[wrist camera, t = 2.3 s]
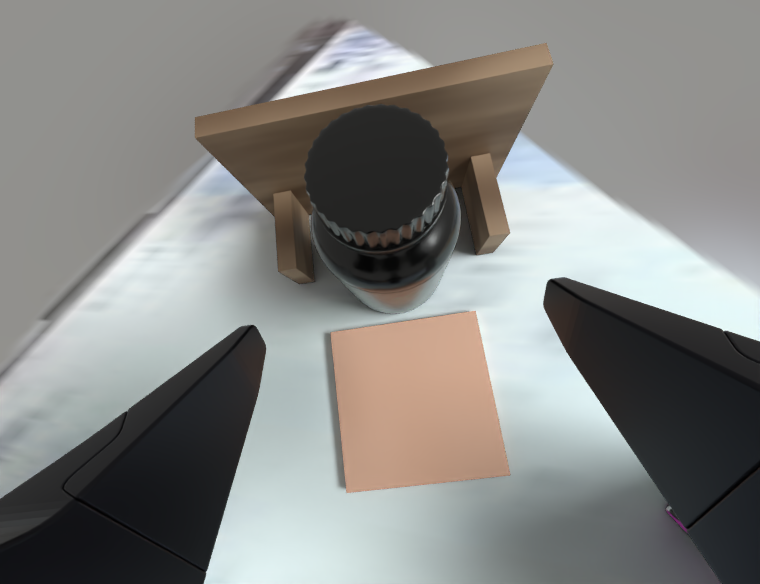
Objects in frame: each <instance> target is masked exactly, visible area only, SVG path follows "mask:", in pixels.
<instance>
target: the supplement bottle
mask: <svg viewBox="0 0 760 584" xmlns="http://www.w3.org/2000/svg"><path fill="white" fill-rule="evenodd" d="M447 162H448V153H447V152H446V150H445V142H444V141H443V140H442V139H441V138H440V137H439V132H438V130H436V129H435V128H433V127H432V126H431V123H430V121H428V120H425V119H423V118H422V117H421V115H420V114H418V113H414V112H411V111H410V110H409V109H408V108H400V107H398V106H396V105H388V106H387V105H384V104H378V105H375V106H373V105H366V106H364V107H362V108H354V109H353V110H351V111H350V112H348V113H343V114H341V115H340V116H339V117H338V118H337V119H335V120H333V121H331V122H330V123H329V125H328V126H327V127H326V128H324V129H322V130H321V132H320V134H319V136H318V137H317V138H316V139H315V140H314V141H313V145H312V148H311V149H310V150H309V151H308V159H307V161H306V162H305V169H306V172H305V174H304V180H305V182H306V192H307V194H308V196H309V197H310V202H311V205H312V206H313V208H312V213H311V232H312V237H313V242H314V245H315V248H316V250H317V252H318V254H319V256H320V257H321V259H322V261H323V262H324V263H325V265H326V266H327V267H328V269H329V270H330V271H331V272H332V273H333V274H334V275H335V276H336V277H337V278H338V279H339V280H340V281H341V282H342V283H343V284H344V285H345V286H346V287H347V288H348V289H349V290H350V291H351V292H352V293H353V294H354V295H355V296H356V297H357V298H358V299H359V300H360V301H361V302H362V303H364V304H365V305H366V306H368V307H370V308H371V309H374V310H376V311H379V312H383V313H389V314H398V313H404V312H408V311H411V310H413V309H415V308H417V307H419V306H421V305H422V304H423V303H425V302H426V301H427V300H428V299H429V298H430V297H431V296H432V294H433V293H434V292H435V290H436V288H437V286H438V285H439V282H440V280H441V278H442V276H443V273H444V271H445V269H446V267H447V264H448V262H449V260H450V258H451V255H452V253H453V251H454V248H455V246H456V243H457V240H458V237H459V232H460V227H461V209H460V203H459V199H458V196H457V193H456V191H455V189H454V186H453V184H452V183H451V181H450V180H449V178H448V173H449V167H448V164H447Z"/></svg>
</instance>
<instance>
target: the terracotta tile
mask: <svg viewBox="0 0 760 584" xmlns="http://www.w3.org/2000/svg"><path fill="white" fill-rule="evenodd" d="M331 342H332V352H333V362H334V372H335V382H336V392H337V402H338V412H339V422H340V432H341V442H342V452H343V462H344V472H345V482H346V492H347V493H351V492H360V491H369V490H379V489H388V488H397V487H407V486H416V485H425V484H435V483H444V482H453V481H463V480H472V479H481V478H491V477H500V476H509V475H510V471H509V466H508V461H507V457H506V452H505V447H504V443H503V438H502V433H501V428H500V424H499V419H498V414H497V410H496V405H495V400H494V396H493V391H492V386H491V381H490V377H489V372H488V367H487V363H486V358H485V353H484V348H483V344H482V339H481V334H480V330H479V325H478V320H477V315H476V311H470V312H464V313H457V314H450V315H444V316H437V317H430V318H423V319H417V320H410V321H403V322H397V323H390V324H383V325H376V326H370V327H363V328H356V329H350V330H343V331H336V332H331Z"/></svg>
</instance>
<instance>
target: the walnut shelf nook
mask: <svg viewBox="0 0 760 584" xmlns="http://www.w3.org/2000/svg"><path fill="white" fill-rule="evenodd" d="M552 66H553V61H552V58H551V55H550V52H549V49H548V46H547V43H545V44H539V45H535V46H530V47H525V48H520V49H516V50H511V51H506V52H502V53H497V54H492V55H487V56H483V57H478V58H473V59H469V60H464V61H459V62H455V63H450V64H445V65H440V66H435V67H431V68H426V69H421V70H417V71H412V72H407V73H402V74H398V75H393V76H388V77H383V78H379V79H374V80H369V81H365V82H360V83H355V84H350V85H346V86H341V87H336V88H331V89H327V90H322V91H317V92H313V93H308V94H303V95H298V96H294V97H289V98H284V99H280V100H275V101H270V102H265V103H261V104H256V105H251V106H246V107H242V108H237V109H232V110H228V111H223V112H218V113H213V114H209V115H204V116H199V117H195V138H196V139H197V140H198V141H199V142H200V143H201V144H202V145H203V146H204V147H205V148H206V149H207V150H208V151H209V152H210V153H211V154H212V155H213V156H214V157H215V158H216V159H217V160H218V161H219V162H220V163H221V164H222V165H223V166H224V167H225V168H226V169H227V170H228V171H229V172H230V173H231V174H232V175H233V176H234V177H235V178H236V179H237V180H238V181H239V182H240V183H241V184H242V185H243V186H244V187H245V188H246V189H247V190H248V191H249V192H250V193H251V194H252V195H253V196H254V197H255V198H256V199H257V200H258V201H259V202H260V203H261V204H262V205H263V206H264V207H265V208H266V209H267V210H268V211H269V212H270V213H271V214H272V215H273V216H274V217H275V228H276V244H277V260H278V272H280V273H282V274H283V275H285V276H287V277H288V278H290V279H292V280H293V281H295V282H297V283H298V284H303V283H309V282H315V280H314V269H313V258H312V247H311V236H310V225H309V215H310V214H311V213H312V208H313V206H312V205H311V202H310V197H309V196H308V194H307V192H306V182H305V180H304V174H305V172H306V169H305V162H306V161H307V159H308V151H309V150H310V149H311V148H312V145H313V141H314V140H315V139H316V138H317V137H318V136H319V134H320V132H321V130H322V129H324V128H326V127H327V126H328V125H329V123H330V122H331V121H333V120H335V119H337V118H338V117H339V116H340V115H341V114H343V113H348V112H350V111H351V110H353V109H354V108H362V107H364V106H366V105H373V106H375V105H378V104H384V105H387V106H388V105H396V106H398V107H400V108H408V109H409V110H410V111H411V112H414V113H418V114H420V115H421V117H422V118H423V119H425V120H428V121H430V123H431V126H432V127H433V128H435V129H436V130H438V132H439V137H440V138H441V139H442V140H443V141H444V142H445V150H446V152H447V153H448V162H447V164H448V167H449V173H448V178H449V180H450V181H451V183H452V184H453V186H454V189H455V188H460V187H461V188H462V193H463V197H464V202H465V206H466V211H467V215H468V220H469V224H470V229H471V233H472V238H473V242H474V247H475V251H476V255H481V254H487V253H493V252H494V251H495V250H496V249H497V248H498V246H499V245H500V244H501V243H502V242H503V241H504V239H505V238H506V237H507V236H508V235H509V234H510V230H509V226H508V222H507V219H506V215H505V211H504V207H503V203H502V199H501V195H500V191H499V187H498V183H497V179H496V177H497V175H498V174H499V172H500V170H501V168H502V166H503V164H504V162H505V160H506V158H507V156H508V154H509V152H510V150H511V148H512V146H513V144H514V142H515V140H516V138H517V136H518V134H519V132H520V130H521V128H522V126H523V124H524V122H525V120H526V118H527V116H528V114H529V112H530V110H531V108H532V106H533V104H534V102H535V100H536V98H537V96H538V94H539V92H540V90H541V88H542V86H543V84H544V82H545V80H546V78H547V76H548V74H549V72H550V70H551V68H552Z"/></svg>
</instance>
